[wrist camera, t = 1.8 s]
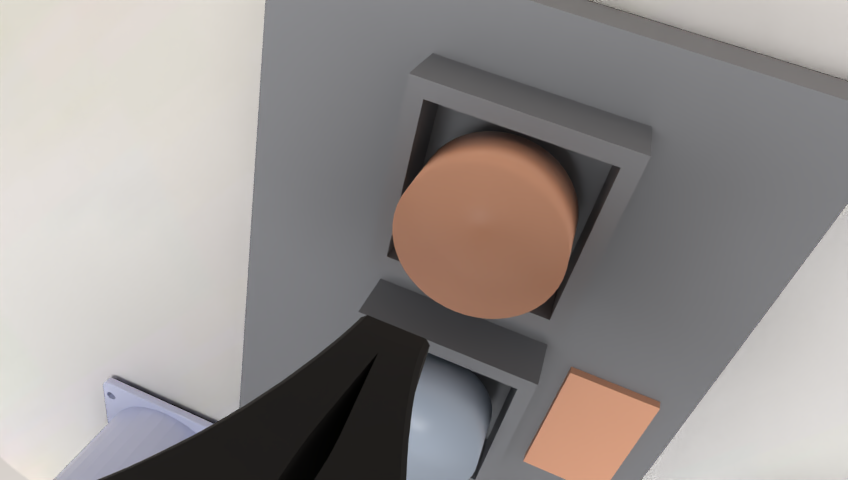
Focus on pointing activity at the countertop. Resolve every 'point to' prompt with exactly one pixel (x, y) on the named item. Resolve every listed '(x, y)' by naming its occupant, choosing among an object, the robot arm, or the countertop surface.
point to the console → (595, 189)
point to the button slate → (447, 422)
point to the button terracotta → (487, 225)
